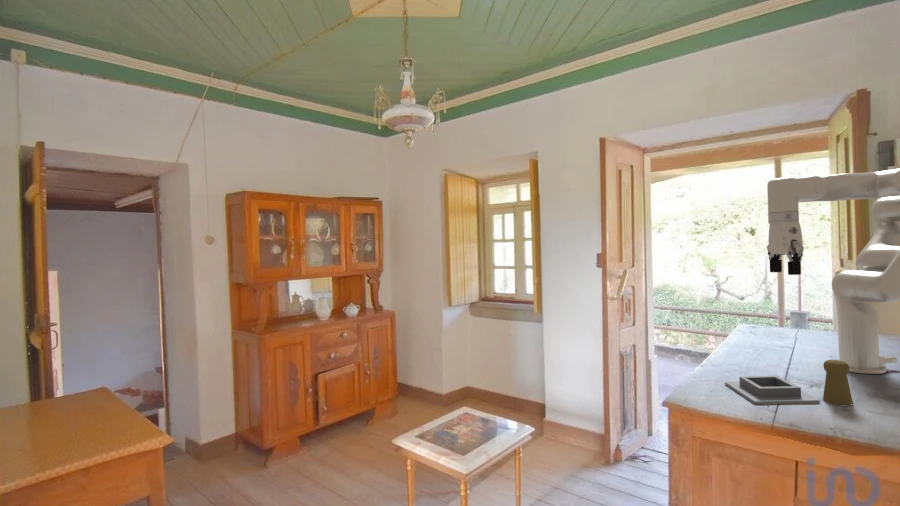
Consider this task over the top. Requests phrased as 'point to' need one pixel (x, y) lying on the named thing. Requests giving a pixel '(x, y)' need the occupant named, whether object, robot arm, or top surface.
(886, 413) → the top surface
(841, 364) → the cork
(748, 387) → the bay base
